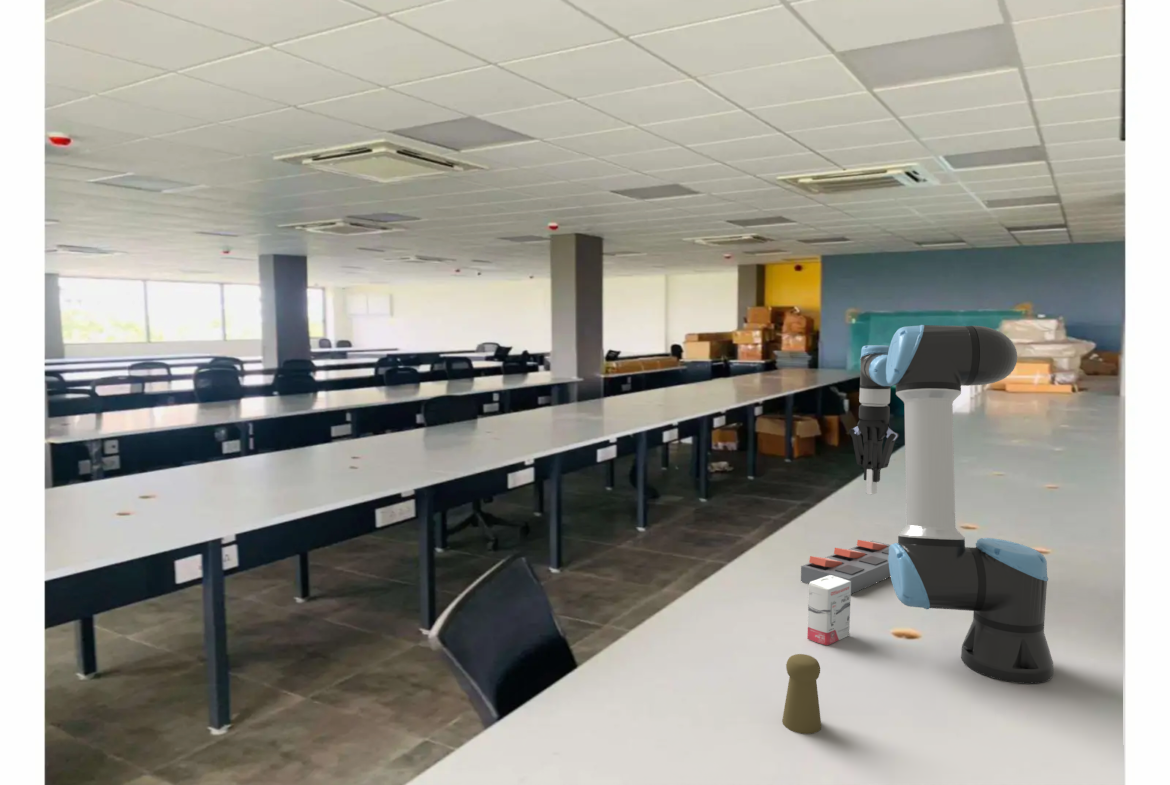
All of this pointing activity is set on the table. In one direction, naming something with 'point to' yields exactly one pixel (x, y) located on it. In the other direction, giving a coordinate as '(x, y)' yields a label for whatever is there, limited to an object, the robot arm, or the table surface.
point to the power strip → (853, 568)
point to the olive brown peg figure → (802, 695)
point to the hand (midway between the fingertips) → (871, 493)
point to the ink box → (828, 609)
